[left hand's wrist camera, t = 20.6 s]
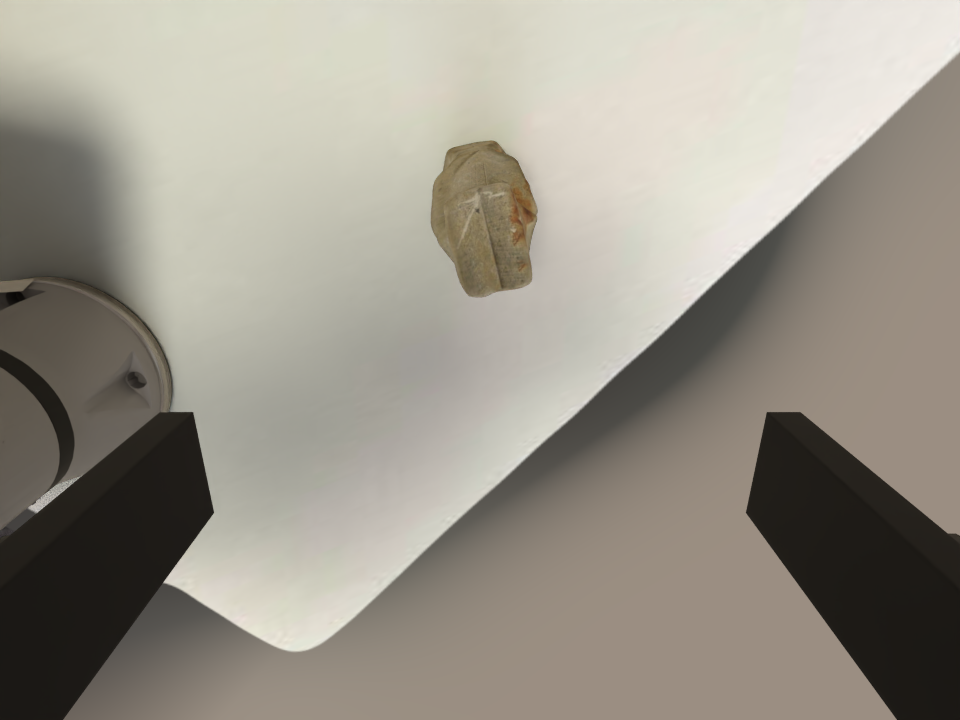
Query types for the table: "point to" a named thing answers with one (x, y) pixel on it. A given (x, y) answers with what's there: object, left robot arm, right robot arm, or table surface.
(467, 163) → the sculpture
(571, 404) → the table surface
